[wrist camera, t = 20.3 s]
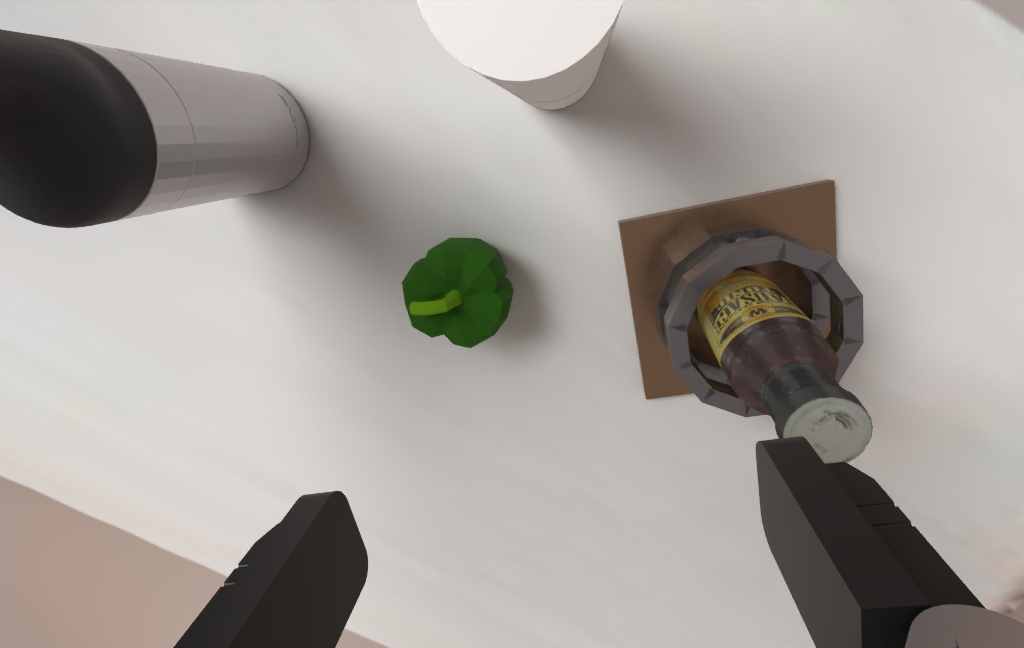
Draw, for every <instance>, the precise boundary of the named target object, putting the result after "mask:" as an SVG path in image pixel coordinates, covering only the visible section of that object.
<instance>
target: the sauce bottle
mask: <svg viewBox="0 0 1024 648" xmlns="http://www.w3.org/2000/svg"><path fill="white" fill-rule="evenodd" d="M697 314H698V320H699V323H700V325H701V327H702V329H703V331H704V333H705V335H706V337H707V339H708V341H709V343H710V345H711V348H712V350H713V352H714V354H715V356H716V358H717V360H718V362H719V364H720V366H721V369H722V371H723V373H724V374H725V376H726V377H727V379H728V380H729V382H730V384H731V386H732V389H733V390H734V391H735V393H736V394H737V395H738V397H739V398H740V399H741V400H742V401H743V402H744V403H746V404H747V405H748V406H750V407H751V408H753V409H754V410H756V411H758V412H760V413H762V414H766V415H770V416H771V417H772V419H773V420H774V422H775V428H776V432H777V435H778V437H779V439H782V438H790V437H799V436H803V437H804V438H806V440H807V441H808V442H809V443H810V445H811V446H812V447H813V449H814V450H815V451H816V453H817V454H818V455H819V457H820V458H821V459H822V461H823V462H824V463H825V464H827V463H836V462H846V463H847V462H849V461H851V460H853V459H854V458H856V457H857V456H859V455H860V454H861V453H862V452H863V451H864V449H865V446H866V445H867V444H868V443H869V441H870V439H871V437H872V428H873V426H872V423H871V418H870V416H869V415H868V412H867V411H866V409H865V408H864V407H863V406H862V404H861V403H860V401H859V400H858V399H857V398H856V396H854V395H853V394H852V393H851V392H849V391H846V390H845V389H843V388H841V387H840V385H839V384H838V383H837V381H836V380H835V375H836V371H837V368H838V365H839V360H838V357H837V355H836V353H835V352H834V350H833V349H832V348H831V346H830V345H829V344H828V342H827V341H826V339H825V338H824V337H823V335H822V334H821V332H820V331H819V330H818V328H817V326H816V325H815V324H814V323H813V322H812V321H811V320H810V319H809V318H808V317H807V316H806V315H805V314H804V313H803V312H802V311H801V310H800V309H799V308H798V307H797V306H796V305H795V304H794V303H793V302H792V301H791V300H790V299H789V298H788V297H787V296H786V295H785V294H784V293H783V292H782V291H781V290H780V289H779V288H778V287H777V286H776V285H775V284H774V283H772V282H771V281H770V280H769V279H768V278H766V277H765V276H763V275H762V274H759V273H757V272H755V271H753V270H748V269H735V270H733V271H732V272H731V273H729V274H728V275H727V276H725V277H724V278H723V279H721V280H720V281H719V282H717V283H716V284H715V285H713V286H712V287H711V288H709V289H708V290H706V291H705V292H704V293H703V294H702V296H701V299H700V301H699V303H698V305H697Z"/></svg>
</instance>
